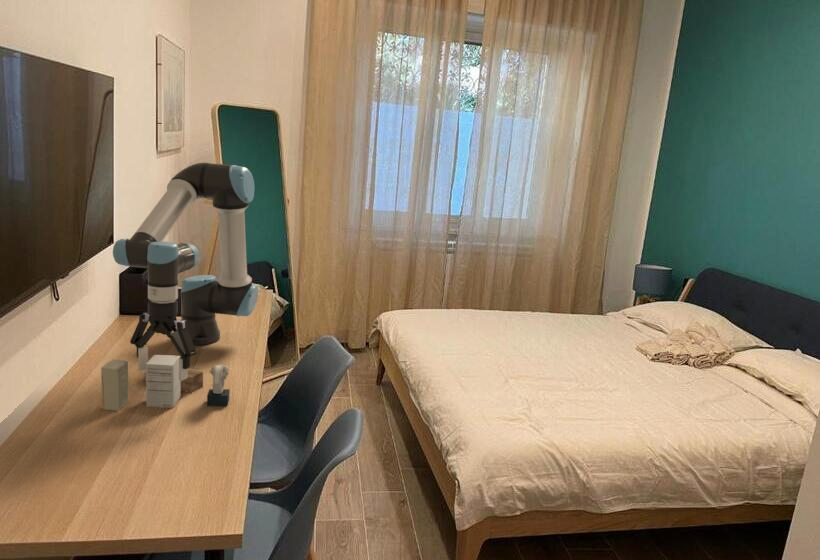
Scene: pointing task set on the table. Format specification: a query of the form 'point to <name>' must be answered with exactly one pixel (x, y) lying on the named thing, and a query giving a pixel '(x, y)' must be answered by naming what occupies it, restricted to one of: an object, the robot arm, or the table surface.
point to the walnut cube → (192, 381)
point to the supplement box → (162, 381)
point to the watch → (218, 387)
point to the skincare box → (114, 384)
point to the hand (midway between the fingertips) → (163, 374)
